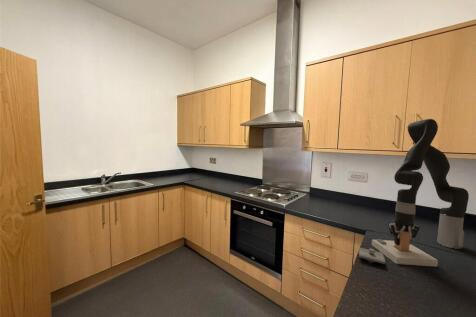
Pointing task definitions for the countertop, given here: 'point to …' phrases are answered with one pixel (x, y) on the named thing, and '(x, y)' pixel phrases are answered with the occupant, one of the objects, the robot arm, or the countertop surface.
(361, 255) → the light switch
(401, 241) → the plug
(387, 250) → the socket
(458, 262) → the countertop surface
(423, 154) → the robot arm
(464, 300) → the countertop surface
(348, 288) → the countertop surface
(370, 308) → the countertop surface
